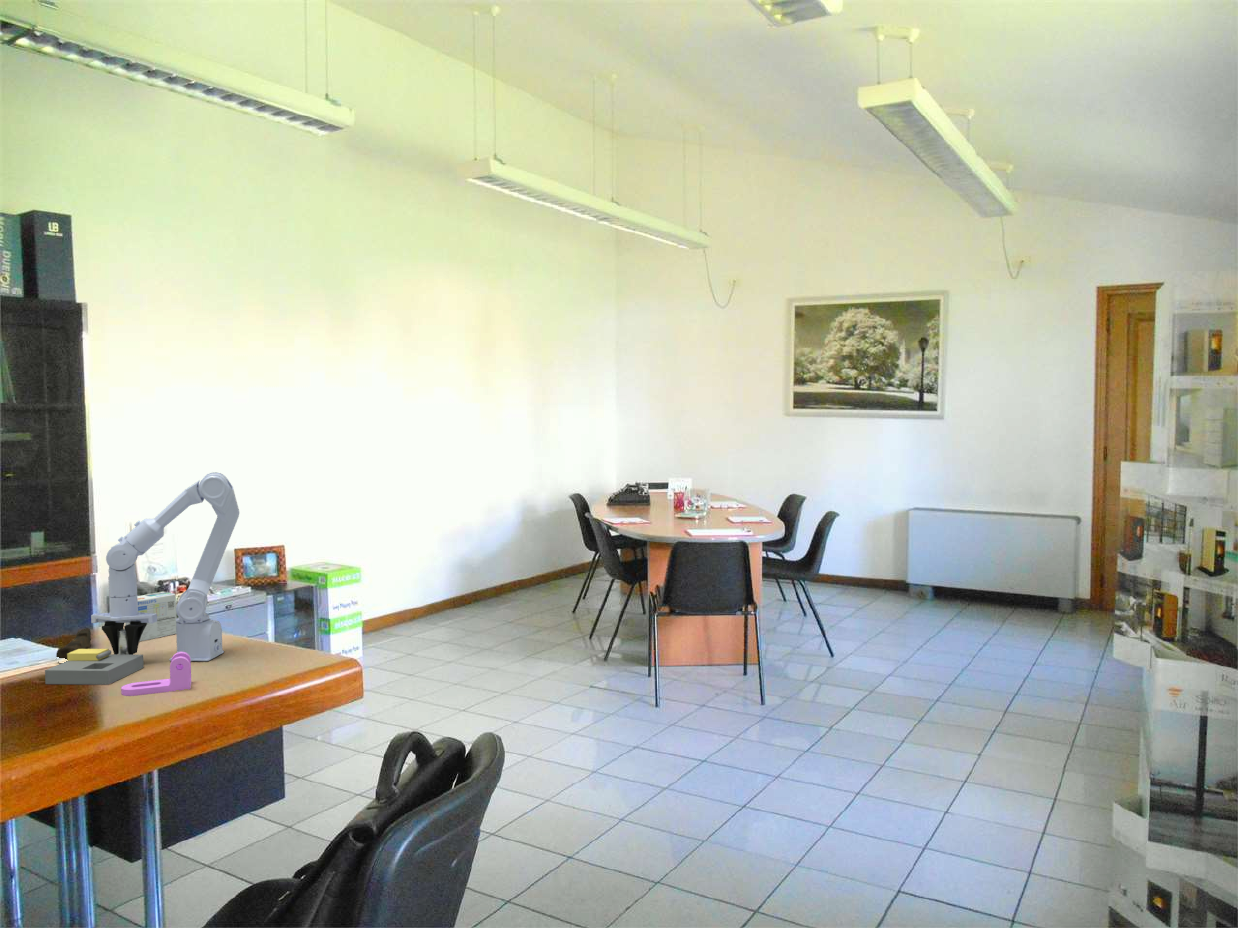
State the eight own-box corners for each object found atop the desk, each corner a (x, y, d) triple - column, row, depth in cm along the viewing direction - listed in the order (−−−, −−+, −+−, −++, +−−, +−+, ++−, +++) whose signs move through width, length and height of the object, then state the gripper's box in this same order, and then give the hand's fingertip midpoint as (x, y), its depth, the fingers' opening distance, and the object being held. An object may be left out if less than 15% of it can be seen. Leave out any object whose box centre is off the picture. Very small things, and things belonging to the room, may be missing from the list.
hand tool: (75, 663, 212) (74, 644, 211) (56, 664, 211) (55, 644, 210) (101, 644, 230) (100, 626, 230) (83, 645, 229) (83, 626, 229)
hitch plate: (143, 667, 207) (143, 654, 207) (108, 684, 194) (108, 670, 194) (84, 667, 208) (83, 654, 207) (45, 683, 195) (44, 670, 194)
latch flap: (111, 655, 206) (111, 648, 205) (100, 660, 202) (100, 653, 201) (79, 655, 206) (78, 648, 206) (67, 660, 202) (67, 653, 202)
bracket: (191, 682, 195) (190, 650, 195) (190, 689, 190) (189, 656, 190) (122, 690, 190) (121, 657, 190) (120, 697, 185) (118, 664, 185)
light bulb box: (165, 630, 243) (163, 590, 242) (178, 633, 239) (177, 593, 238) (124, 638, 234) (122, 597, 234) (137, 642, 230) (135, 600, 230)
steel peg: (136, 662, 212) (134, 628, 211) (128, 665, 209) (127, 631, 208) (123, 661, 212) (122, 628, 211) (115, 665, 209) (114, 631, 208)
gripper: (81, 598, 206) (84, 657, 206) (143, 598, 205) (146, 658, 206) (101, 592, 213) (103, 649, 213) (161, 592, 212) (163, 650, 213)
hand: (125, 653), depth 210 cm, fingers closed on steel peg, 3 cm apart
